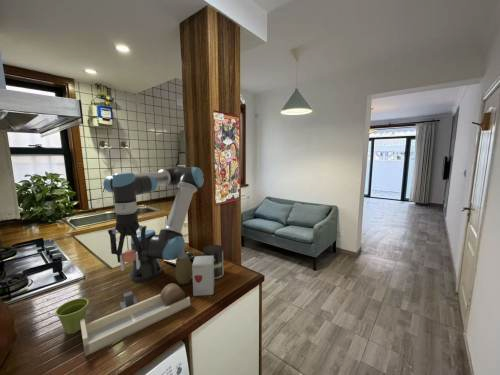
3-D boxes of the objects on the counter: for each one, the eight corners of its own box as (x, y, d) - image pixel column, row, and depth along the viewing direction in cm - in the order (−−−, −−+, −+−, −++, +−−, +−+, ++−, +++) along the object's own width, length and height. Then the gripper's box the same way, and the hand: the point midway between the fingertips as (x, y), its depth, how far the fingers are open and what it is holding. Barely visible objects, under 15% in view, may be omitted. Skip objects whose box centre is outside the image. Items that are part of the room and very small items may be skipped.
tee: (119, 304, 94) (118, 293, 93) (135, 298, 98) (134, 287, 97) (122, 311, 90) (121, 300, 89) (138, 305, 93) (137, 294, 93)
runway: (82, 335, 78) (79, 320, 77) (179, 293, 101) (178, 281, 100) (85, 356, 70) (82, 339, 69) (190, 305, 93) (189, 292, 92)
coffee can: (217, 281, 111) (216, 254, 109) (200, 276, 115) (199, 251, 113) (227, 271, 120) (226, 246, 118) (211, 267, 124) (210, 243, 122)
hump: (161, 305, 93) (159, 287, 92) (179, 297, 98) (178, 280, 97) (166, 312, 89) (165, 294, 88) (185, 303, 94) (184, 286, 93)
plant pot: (85, 334, 78) (82, 312, 77) (52, 341, 76) (49, 318, 74) (95, 316, 87) (92, 296, 86) (66, 321, 85) (63, 300, 83)
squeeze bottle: (191, 285, 107) (189, 249, 105) (174, 287, 106) (172, 251, 104) (193, 276, 115) (191, 243, 113) (177, 277, 114) (174, 244, 111)
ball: (125, 260, 91) (124, 248, 91) (138, 258, 93) (137, 247, 92) (121, 265, 87) (120, 253, 86) (135, 264, 88) (134, 251, 87)
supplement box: (192, 296, 99) (191, 264, 97) (195, 284, 108) (194, 255, 106) (213, 295, 100) (212, 263, 97) (214, 283, 108) (213, 254, 106)
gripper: (96, 216, 81) (102, 276, 84) (149, 213, 86) (153, 270, 88) (104, 211, 89) (109, 266, 91) (152, 208, 93) (156, 261, 96)
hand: (130, 268), depth 90 cm, fingers closed on ball, 5 cm apart
